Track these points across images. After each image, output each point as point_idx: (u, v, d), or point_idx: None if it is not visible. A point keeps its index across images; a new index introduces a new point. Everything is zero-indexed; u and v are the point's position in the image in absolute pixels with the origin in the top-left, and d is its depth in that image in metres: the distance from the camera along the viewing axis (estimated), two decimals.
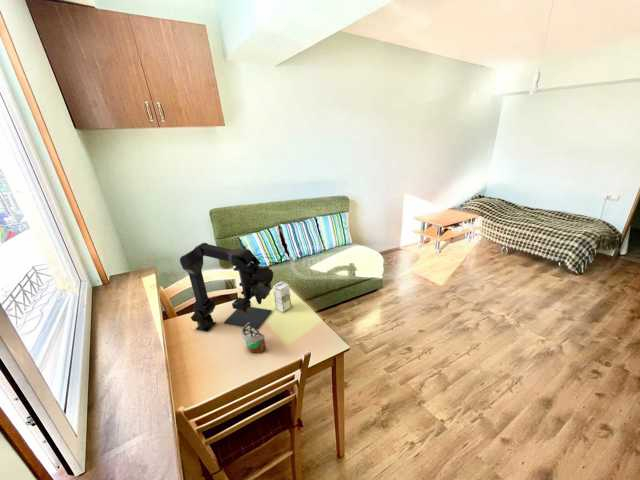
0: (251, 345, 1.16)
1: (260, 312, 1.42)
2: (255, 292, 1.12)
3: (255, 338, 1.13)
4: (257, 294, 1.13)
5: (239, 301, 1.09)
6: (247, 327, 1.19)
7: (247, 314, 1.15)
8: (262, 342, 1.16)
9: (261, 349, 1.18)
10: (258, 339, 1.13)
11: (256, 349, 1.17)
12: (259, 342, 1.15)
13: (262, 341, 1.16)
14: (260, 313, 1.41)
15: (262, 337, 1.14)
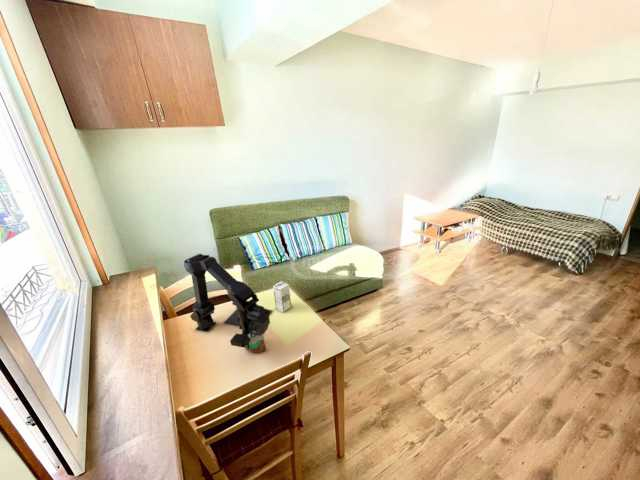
0: (251, 345, 1.16)
1: None
2: (253, 328, 1.11)
3: (255, 338, 1.13)
4: (255, 329, 1.11)
5: (237, 338, 1.08)
6: None
7: (247, 347, 1.15)
8: (261, 343, 1.16)
9: (261, 349, 1.18)
10: (258, 339, 1.13)
11: (256, 349, 1.17)
12: (258, 342, 1.15)
13: (261, 342, 1.16)
14: None
15: (262, 337, 1.14)
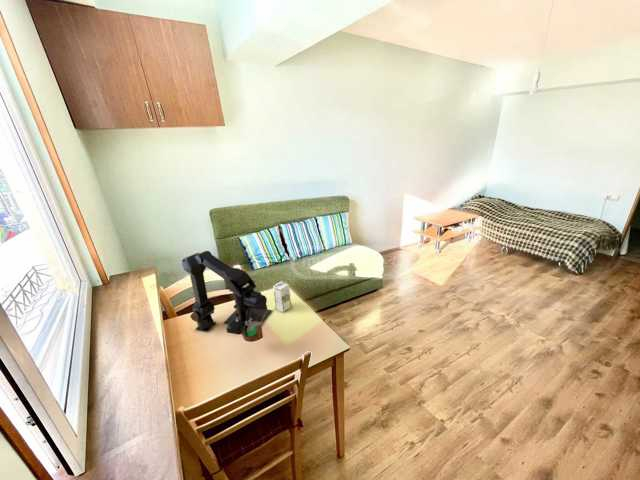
0: (248, 333, 1.13)
1: None
2: (250, 315, 1.08)
3: (253, 324, 1.11)
4: (252, 317, 1.08)
5: (233, 325, 1.05)
6: None
7: (244, 335, 1.12)
8: (259, 328, 1.14)
9: (258, 336, 1.15)
10: (256, 324, 1.11)
11: (253, 336, 1.14)
12: (256, 328, 1.13)
13: (259, 327, 1.14)
14: None
15: (260, 322, 1.12)
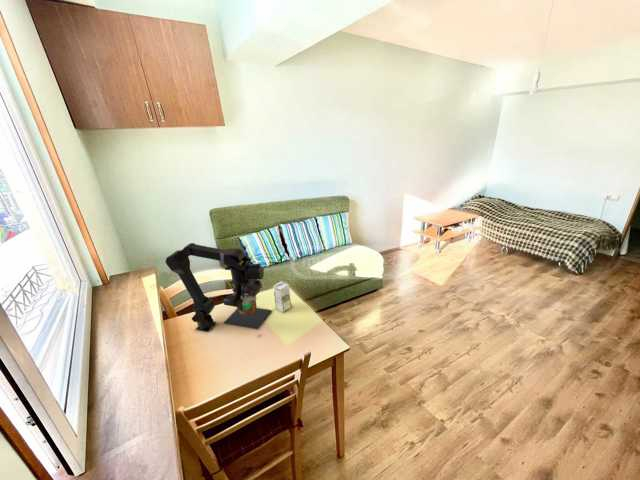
0: (244, 307, 1.24)
1: (260, 312, 1.42)
2: (245, 290, 1.19)
3: (248, 298, 1.22)
4: (247, 292, 1.19)
5: (230, 298, 1.16)
6: None
7: (240, 308, 1.23)
8: (254, 303, 1.25)
9: (253, 311, 1.26)
10: (251, 299, 1.22)
11: (248, 310, 1.25)
12: (251, 303, 1.24)
13: (254, 302, 1.25)
14: (260, 313, 1.41)
15: (254, 297, 1.23)
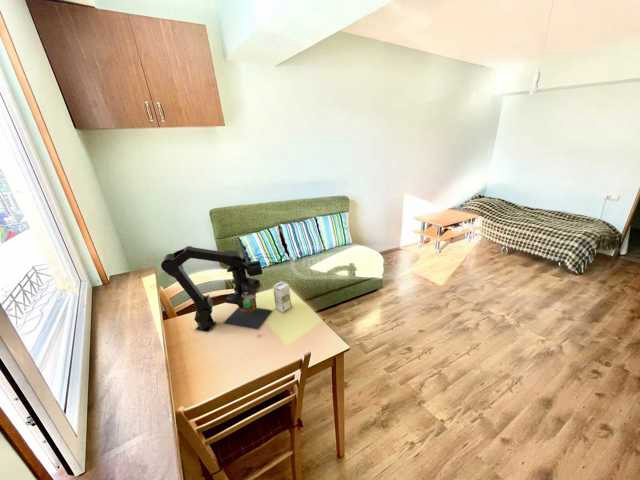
0: (244, 305, 1.33)
1: (260, 312, 1.42)
2: (246, 289, 1.28)
3: (248, 297, 1.31)
4: (248, 290, 1.28)
5: (232, 296, 1.25)
6: None
7: (241, 306, 1.32)
8: (254, 301, 1.34)
9: (253, 308, 1.35)
10: (251, 297, 1.31)
11: (248, 308, 1.34)
12: (251, 301, 1.33)
13: (254, 300, 1.34)
14: (260, 313, 1.41)
15: (254, 296, 1.32)
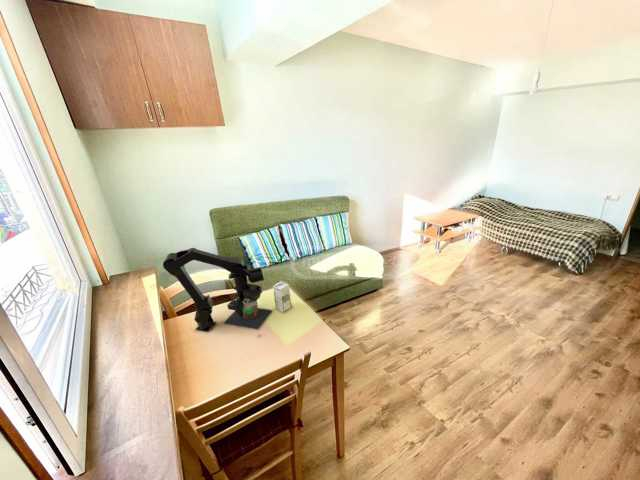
0: (246, 311, 1.34)
1: (260, 312, 1.42)
2: (247, 295, 1.29)
3: (250, 304, 1.32)
4: (249, 297, 1.30)
5: (233, 303, 1.26)
6: None
7: (241, 314, 1.32)
8: (255, 308, 1.36)
9: (254, 315, 1.37)
10: (252, 305, 1.33)
11: (250, 314, 1.36)
12: (253, 308, 1.35)
13: (255, 307, 1.35)
14: (260, 313, 1.41)
15: (256, 303, 1.34)
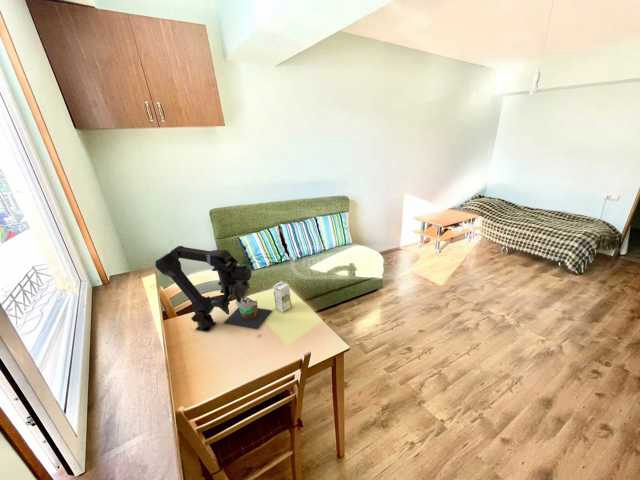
0: (246, 311, 1.34)
1: (260, 312, 1.42)
2: (233, 291, 1.18)
3: (250, 304, 1.32)
4: (235, 292, 1.19)
5: (218, 299, 1.15)
6: None
7: (226, 312, 1.21)
8: (255, 308, 1.36)
9: (254, 315, 1.37)
10: (252, 305, 1.33)
11: (250, 314, 1.36)
12: (253, 308, 1.35)
13: (255, 307, 1.35)
14: (260, 313, 1.41)
15: (256, 303, 1.34)
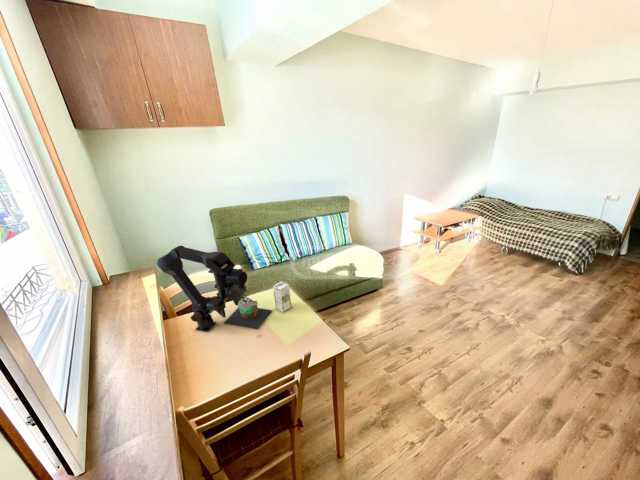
0: (246, 311, 1.34)
1: (260, 312, 1.42)
2: (230, 294, 1.16)
3: (250, 304, 1.32)
4: (232, 296, 1.17)
5: (213, 302, 1.13)
6: None
7: (222, 315, 1.19)
8: (255, 308, 1.36)
9: (254, 315, 1.37)
10: (252, 305, 1.33)
11: (250, 314, 1.36)
12: (253, 308, 1.35)
13: (255, 307, 1.35)
14: (260, 313, 1.41)
15: (256, 303, 1.34)
